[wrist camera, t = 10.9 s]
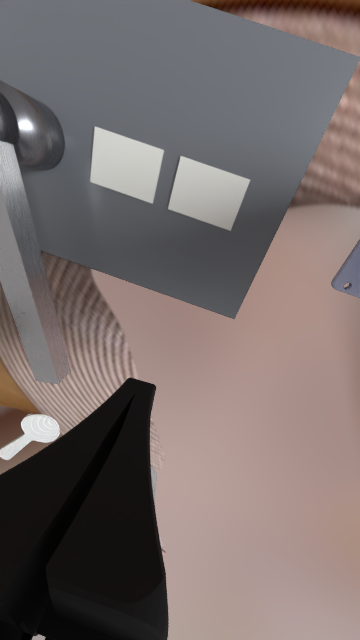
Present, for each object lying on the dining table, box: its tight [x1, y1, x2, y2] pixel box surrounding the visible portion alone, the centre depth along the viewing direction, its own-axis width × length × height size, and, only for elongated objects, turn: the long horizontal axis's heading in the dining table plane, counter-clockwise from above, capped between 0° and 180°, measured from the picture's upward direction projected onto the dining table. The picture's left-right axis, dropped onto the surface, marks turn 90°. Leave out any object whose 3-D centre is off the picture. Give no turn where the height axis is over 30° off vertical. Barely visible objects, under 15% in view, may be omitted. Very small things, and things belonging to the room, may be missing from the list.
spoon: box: [0, 414, 60, 460], centre depth 35 cm, size 5×18×1 cm, turn 133°
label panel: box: [0, 0, 360, 319], centre depth 15 cm, size 19×15×2 cm
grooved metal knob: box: [0, 80, 65, 170], centre depth 14 cm, size 4×4×4 cm
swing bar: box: [0, 92, 71, 384], centre depth 14 cm, size 18×3×2 cm, turn 179°
